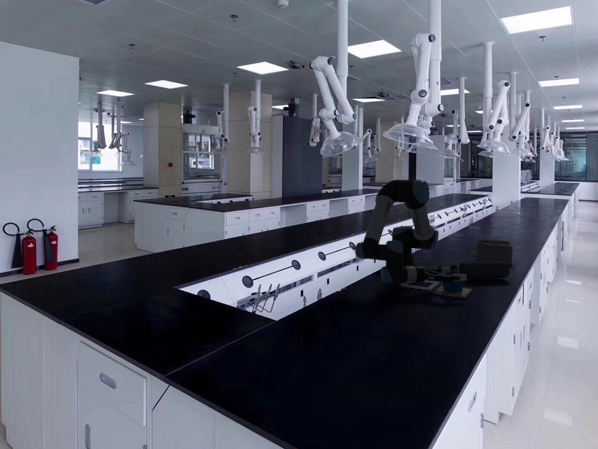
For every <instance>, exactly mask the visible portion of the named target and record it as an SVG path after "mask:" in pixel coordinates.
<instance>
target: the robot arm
mask: <svg viewBox="0 0 598 449" xmlns="http://www.w3.org/2000/svg"><path fill="white" fill-rule="evenodd" d="M429 200H430V187H429V184H428V182H427V181H426V180H422V179H393V180H389V181H388V182H387V183H385V184H384V185H382V187H381V188H380V189H379V190H378V192H377V193H376V196H375V200H374V202H375V206H374V208H373V210H372V215H371V218H370V221H369V223H368V226H367V229H366V232H365V235H364V238H363V241H361V242H358V243H356V244H355V248H354V252H355V253H354V254H355V256H356V257H357V258H359V259H363V260H375V261H383V262H384V261H385V266H382V267H381V268H380V279H381V282H382V283H385V284H386V283H387V284H389V283H390V284H402V283H408V285H410V284H412V283H422V282H424V281H425V280H427V279H428V281H434V282H442V283H443V282H451V283H452V282H453V281H463V282H464V281H465V282H467V280H468V279H467V275H466V274H456V275H446V273H447V272H450V266H448V267H445V266H444V267H442V266H441V265H438V266H430V267H424V266H422V265H416V266H415V258H414V255H413V250H414V249H415V250H426V251H436V249H437V247H438V243H439V236H440V235H439V234H440V233H439V230H438V229H434V226H433V225H431V223H430V219H429V215H428V211H427V206H426V205H427V203H428V202H429ZM395 203H404V206H405V207H406V208H407V209H408V211H409V213H410V217H411V221H412V225H401V226H396V227H393V228H392V231H391V232H392V233H391V240H387V241H386V243H385V244H383V243H382V244H381V243H380V241H381V238H382V235H383V231H384V228H385V226H386V222H387V220H388V216H389V215H390V214H389V213H390V210H391V208H392V207H393V206H394V204H395ZM449 278H450V279H449ZM410 282H411V283H410ZM409 283H410V284H409ZM422 284H423V283H422Z"/></svg>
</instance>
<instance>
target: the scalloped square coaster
mask: <svg viewBox="0 0 598 449" xmlns="http://www.w3.org/2000/svg"><path fill="white" fill-rule="evenodd" d="M427 283H430V284H429V286H427V287H424V286H417V285H411V284H412V283H411V282H410V284H408V283H399V287H400V286H402V287H401V288H404V287H407V288H406V289H411V288H414V289H413V290H417V289H421V290H420V291H424V290H427V291H426V292H431V291H433V290H434V289H436V288H437V287H438V286H440V285H441V284H440V283H441V281H430V280H427V279H425V281H424V282H422V284H427ZM436 286H437V287H436ZM432 289H433V290H432Z"/></svg>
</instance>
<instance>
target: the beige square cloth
mask: <svg viewBox="0 0 598 449" xmlns="http://www.w3.org/2000/svg"><path fill="white" fill-rule="evenodd" d="M433 293H434V294H433ZM471 293H473V289H472V288H466V287H463V291H462V292H457V293H451V292H448V291H445V290H443V284H441V285H439V287H438V288H437V289H436V288H435V290H434V291H433V292H432V294H433V295H436V294H439V295H438V296H442V295H444V296H443V297H449V296H452V297H451V298H455V297H458V298H457V299H462V298H465V299H467V297H468V296H469V295H471Z"/></svg>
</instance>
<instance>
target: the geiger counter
mask: <svg viewBox="0 0 598 449" xmlns="http://www.w3.org/2000/svg"><path fill="white" fill-rule="evenodd" d="M477 241H478V242H477V243H476V254H470V251H471V250H474V249H475V247H472V248H470V249H469V250H468V251H467V254H468V256H471V257H472V258H473V257H474V258H475V259H476V260H475V261H505V262H507V263H508V265H512V264H513V247H514V246H513V245H512V243H511V242H510V240H501V239H500V240H499V239H485V238H481V237H480V238H478V240H477Z"/></svg>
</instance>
